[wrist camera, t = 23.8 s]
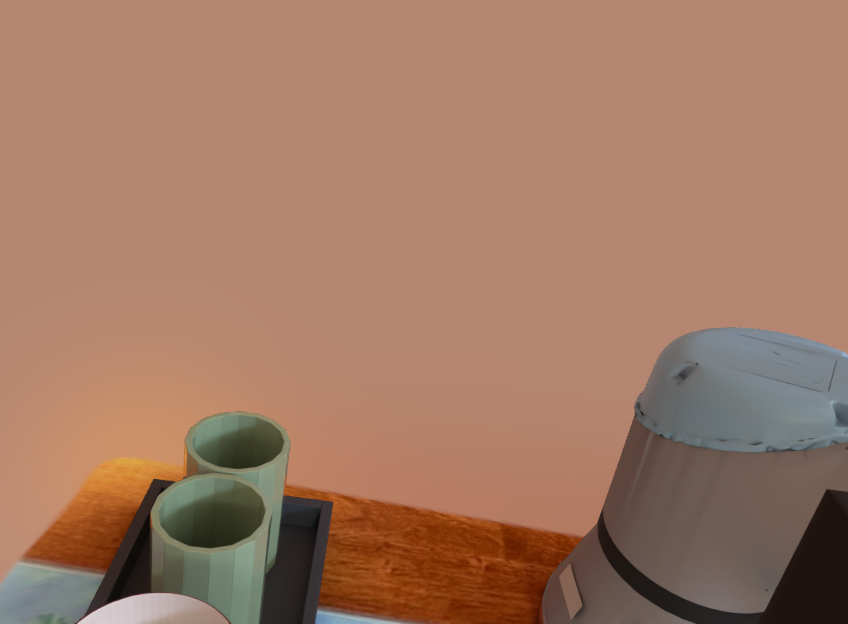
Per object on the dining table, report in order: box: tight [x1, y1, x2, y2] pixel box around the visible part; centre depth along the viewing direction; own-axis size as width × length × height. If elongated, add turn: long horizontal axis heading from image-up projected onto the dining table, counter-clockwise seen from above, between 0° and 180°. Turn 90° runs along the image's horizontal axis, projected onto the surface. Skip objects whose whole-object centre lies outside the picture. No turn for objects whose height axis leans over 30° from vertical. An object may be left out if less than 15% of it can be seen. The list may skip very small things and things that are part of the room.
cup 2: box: [149, 473, 273, 624], centre depth 43 cm, size 6×6×10 cm
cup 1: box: [183, 411, 290, 574], centre depth 49 cm, size 6×6×10 cm
